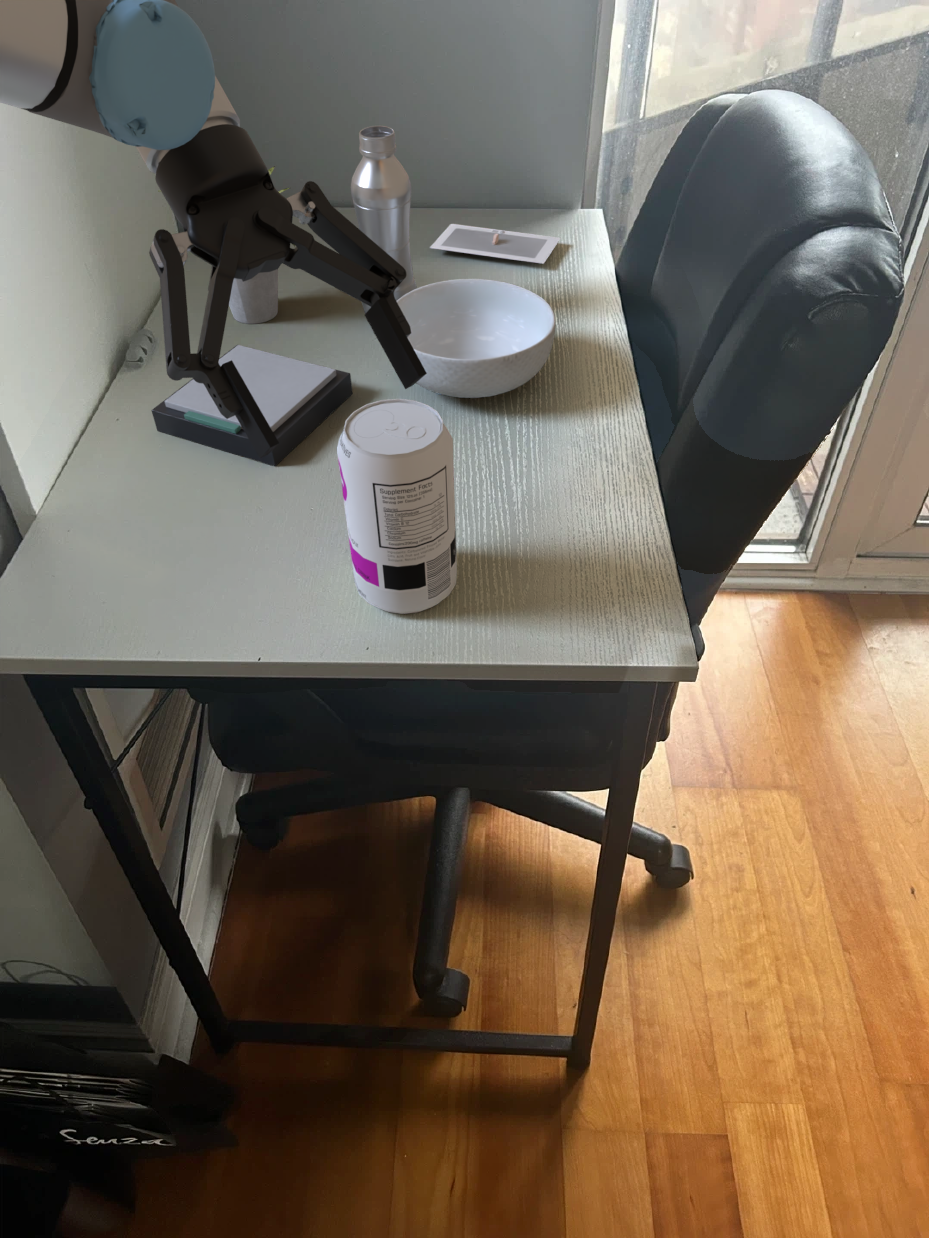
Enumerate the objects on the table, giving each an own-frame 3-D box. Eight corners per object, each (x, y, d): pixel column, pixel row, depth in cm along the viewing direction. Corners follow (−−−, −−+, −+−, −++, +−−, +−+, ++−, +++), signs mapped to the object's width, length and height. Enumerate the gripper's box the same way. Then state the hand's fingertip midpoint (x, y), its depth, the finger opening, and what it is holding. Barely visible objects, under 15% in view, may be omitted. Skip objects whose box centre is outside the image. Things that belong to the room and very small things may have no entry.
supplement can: (338, 604, 75) (313, 445, 64) (383, 541, 80) (367, 385, 69) (432, 630, 72) (422, 470, 62) (471, 564, 78) (469, 406, 67)
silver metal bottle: (365, 335, 105) (346, 146, 91) (361, 307, 110) (342, 123, 96) (422, 330, 106) (412, 141, 92) (415, 302, 111) (405, 119, 97)
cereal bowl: (399, 431, 92) (394, 366, 87) (383, 347, 104) (377, 285, 99) (569, 413, 94) (573, 348, 89) (534, 332, 105) (536, 271, 100)
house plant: (191, 356, 103) (153, 204, 91) (176, 301, 112) (140, 156, 101) (319, 334, 106) (298, 184, 94) (294, 282, 115) (273, 139, 104)
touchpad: (543, 272, 116) (544, 255, 114) (429, 256, 120) (429, 239, 118) (560, 246, 121) (561, 229, 120) (451, 232, 125) (450, 215, 123)
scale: (275, 466, 88) (269, 438, 86) (157, 431, 93) (149, 403, 90) (352, 393, 97) (349, 366, 95) (241, 364, 101) (236, 338, 99)
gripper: (36, 168, 59) (212, 469, 61) (355, 81, 70) (492, 337, 73) (29, 228, 65) (189, 497, 68) (322, 139, 77) (449, 372, 79)
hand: (346, 415), depth 70 cm, fingers open, 13 cm apart
